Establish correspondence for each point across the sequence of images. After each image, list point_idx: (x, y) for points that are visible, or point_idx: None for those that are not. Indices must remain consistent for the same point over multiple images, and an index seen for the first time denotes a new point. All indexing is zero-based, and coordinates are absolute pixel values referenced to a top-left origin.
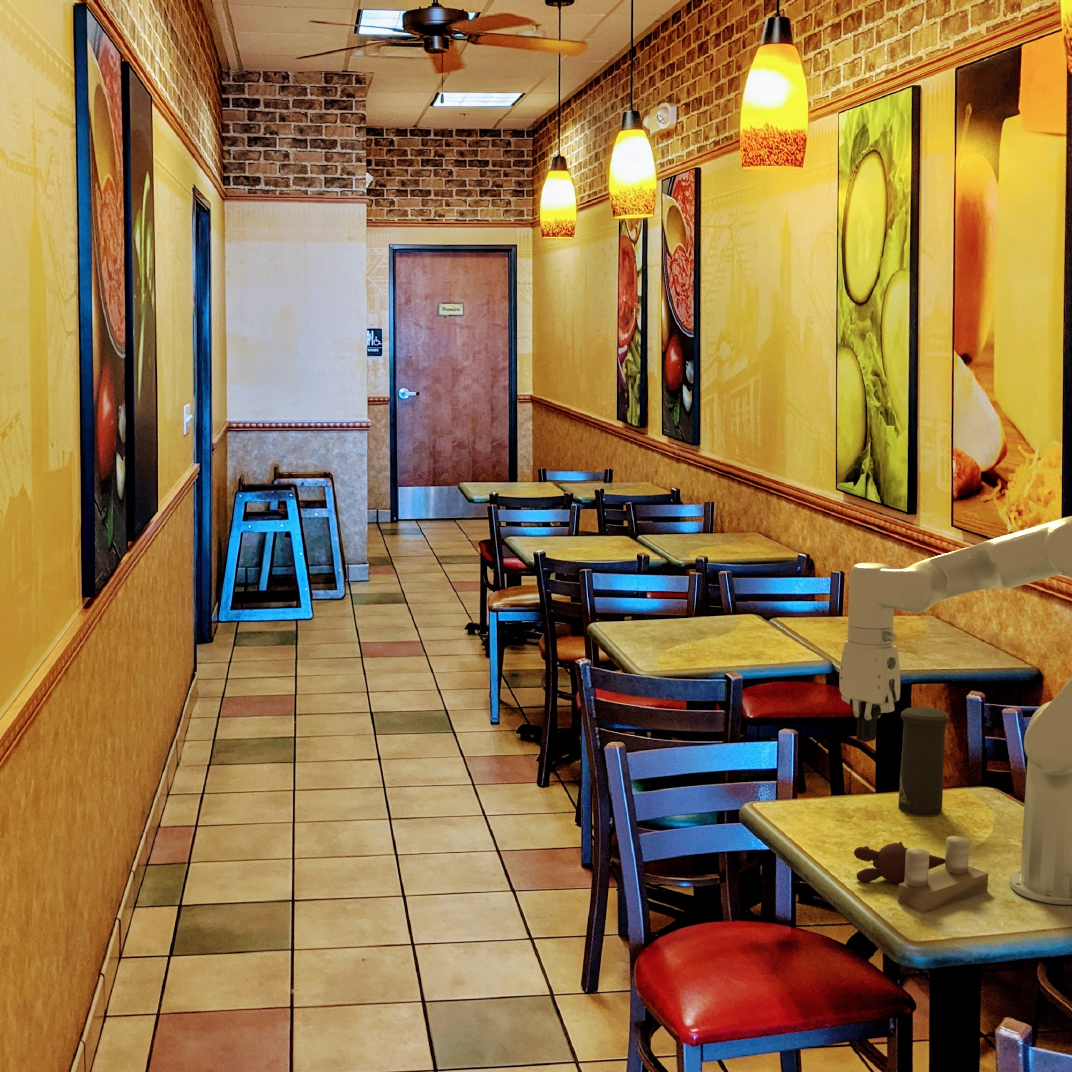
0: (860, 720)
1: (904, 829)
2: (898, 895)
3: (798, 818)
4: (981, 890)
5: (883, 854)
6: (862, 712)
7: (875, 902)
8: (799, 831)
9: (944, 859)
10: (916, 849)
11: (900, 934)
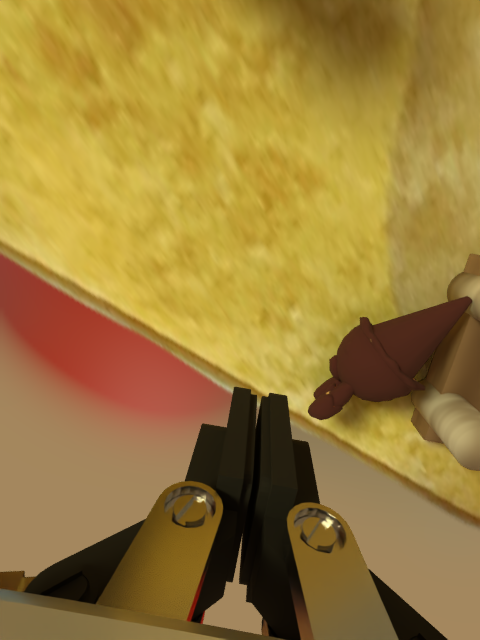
0: (230, 579)
1: (231, 42)
2: (416, 427)
3: (33, 184)
4: None
5: (368, 398)
6: (207, 597)
7: (381, 444)
8: (90, 254)
9: (469, 303)
10: (473, 438)
11: (463, 512)
